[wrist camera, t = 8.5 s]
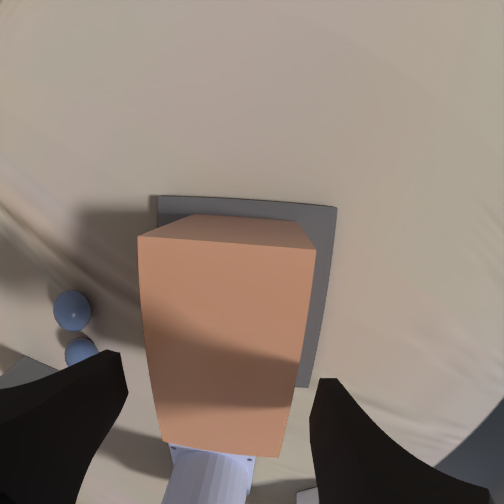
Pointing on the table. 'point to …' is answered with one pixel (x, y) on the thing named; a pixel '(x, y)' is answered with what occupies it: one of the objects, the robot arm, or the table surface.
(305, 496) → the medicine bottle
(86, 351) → the marble
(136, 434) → the table surface
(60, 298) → the marble
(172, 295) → the salmon rectangular prism
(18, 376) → the grey rectangular block
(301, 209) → the charcoal mat
